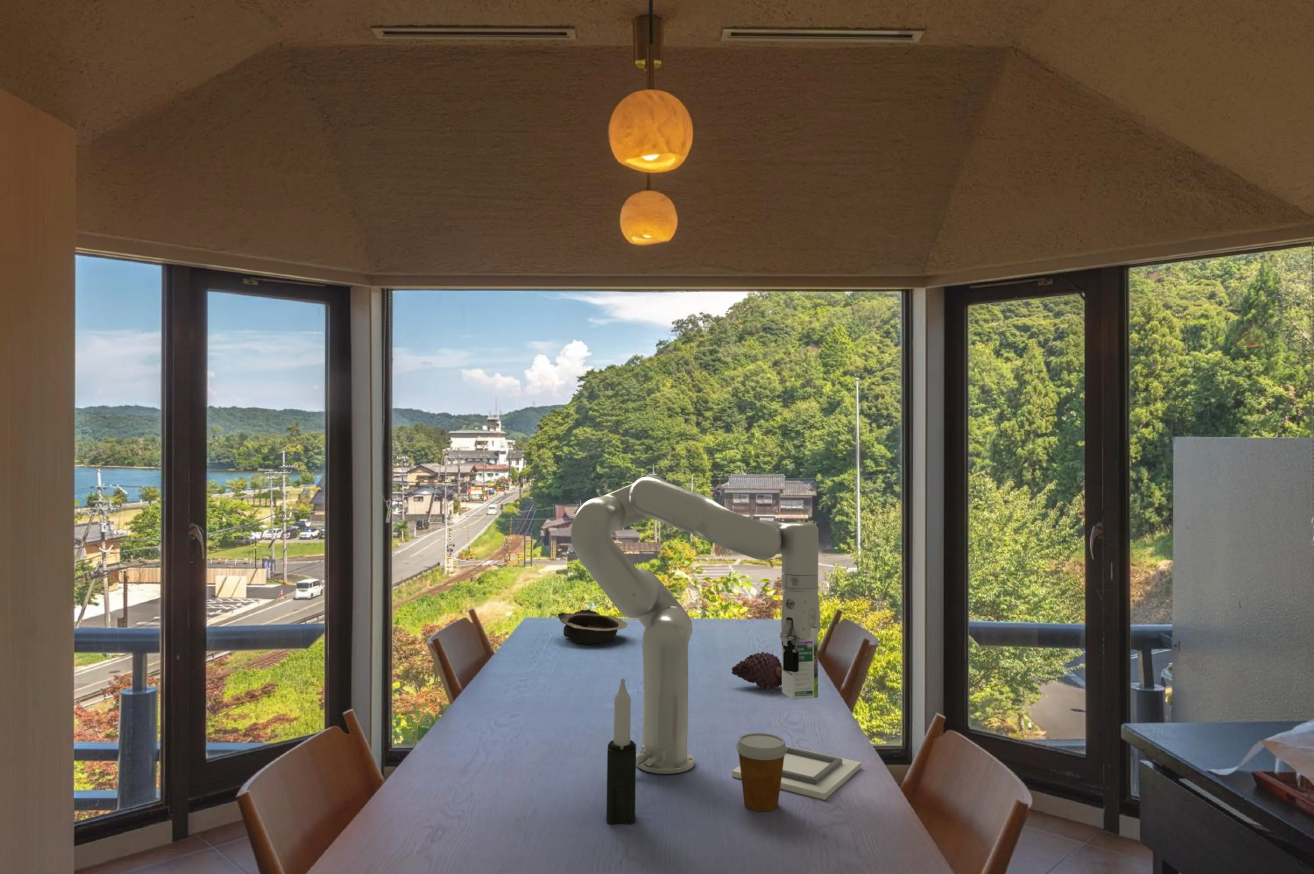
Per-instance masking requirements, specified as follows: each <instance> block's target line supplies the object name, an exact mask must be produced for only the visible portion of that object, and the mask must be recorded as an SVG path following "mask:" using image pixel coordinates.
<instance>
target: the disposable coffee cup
mask: <svg viewBox="0 0 1314 874" xmlns="http://www.w3.org/2000/svg"><path fill="white" fill-rule="evenodd" d="M786 746H787V745H786V742H785V740H784V738H783V737H781V736H778V735H776V734H772V733H767V732H749V733H745V734H743V735H740V736H739V737H738V742H737V743H736V746H735V747H736V750H737V753H738V757H739V758H738V759H739V766H740V769H741V778H742V779H741V786H742V787H741V788H742V794H743V804H744V807H746V808H748V809H750V810H752V811H755V812H756V811H757V812H770V811H774V810H775V809H777V808H778V807H779V805H778V804H779V799H780V791H781V789H780V786H781V778H782V770H783V763H784V756H785V754H786V752H787V747H786Z"/></svg>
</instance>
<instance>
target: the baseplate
mask: <svg viewBox="0 0 1314 874" xmlns="http://www.w3.org/2000/svg"><path fill="white" fill-rule="evenodd" d="M785 746H786V747H787V752H786V754H785V756H784V763H783V770H782V778H781V786H780V790H784V791H788V792H793V793H794V794H795V793H796V794H800V795H804V796H808V797H810V798H811V797H812V798H816V799H820V800H824V801H825V800H827V798H829V797H830V796H831V795H832V794H833V793H834V792H836V790H838V789H839V788H840V787H841V786H843V784H845V783H846V782H847V781H848V780H849V779H850V778H852V777H853V776H854V775H856V773H857V772H858V771H860V770H861V769H862V762H861V761H856V760H854V759H853V760H852V759H847V758H843V757H839V756H838V757H837V756H833V755H828V754H825V753H820V752H815V751H810V750H807V749H802V748H799V747H793V746H788V745H785ZM731 777H732V778H737V779H740V780H742V778H741V769H740V765H738V766H737V767H735V768H734V769H732V770H731Z"/></svg>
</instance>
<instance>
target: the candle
mask: <svg viewBox="0 0 1314 874" xmlns="http://www.w3.org/2000/svg"><path fill="white" fill-rule="evenodd" d="M625 682H626V679H625V678H621V679H620V685H619V687H618V690H617V693H616V694H615V696H614V700H613V703H614V706H613V707H614V709H613V711H614V715H613V739H612V740H610V741H609V743H608V744H607V753H606V754H607V759H606V761H607V762H606V814H605V815H606V816H605V817H606V819H605V820H606V821H605V822H606V823H607V824H609V825H634V824H635V822H636V781H637V779H636V777H637V775H636V773H637V771H636V770H637V766H636V755H637V744H636V743H635V741H633V740H631V703H632V699H631V695H630V694H629V692H628V690H627V686H626V683H625Z"/></svg>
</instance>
